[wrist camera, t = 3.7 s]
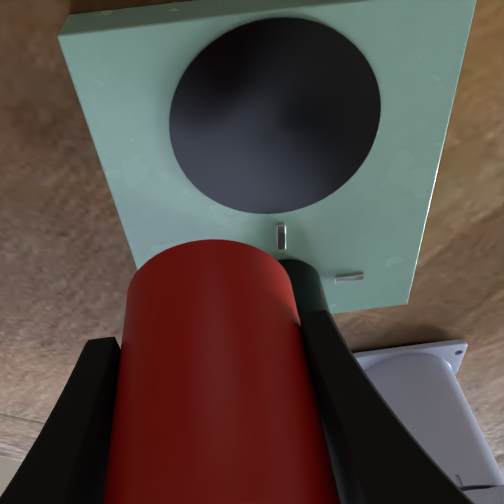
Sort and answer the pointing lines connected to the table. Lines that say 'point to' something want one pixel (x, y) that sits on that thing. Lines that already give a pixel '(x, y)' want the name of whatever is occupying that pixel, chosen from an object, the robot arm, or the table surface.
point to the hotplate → (298, 221)
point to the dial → (305, 286)
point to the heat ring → (274, 115)
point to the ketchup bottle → (215, 386)
